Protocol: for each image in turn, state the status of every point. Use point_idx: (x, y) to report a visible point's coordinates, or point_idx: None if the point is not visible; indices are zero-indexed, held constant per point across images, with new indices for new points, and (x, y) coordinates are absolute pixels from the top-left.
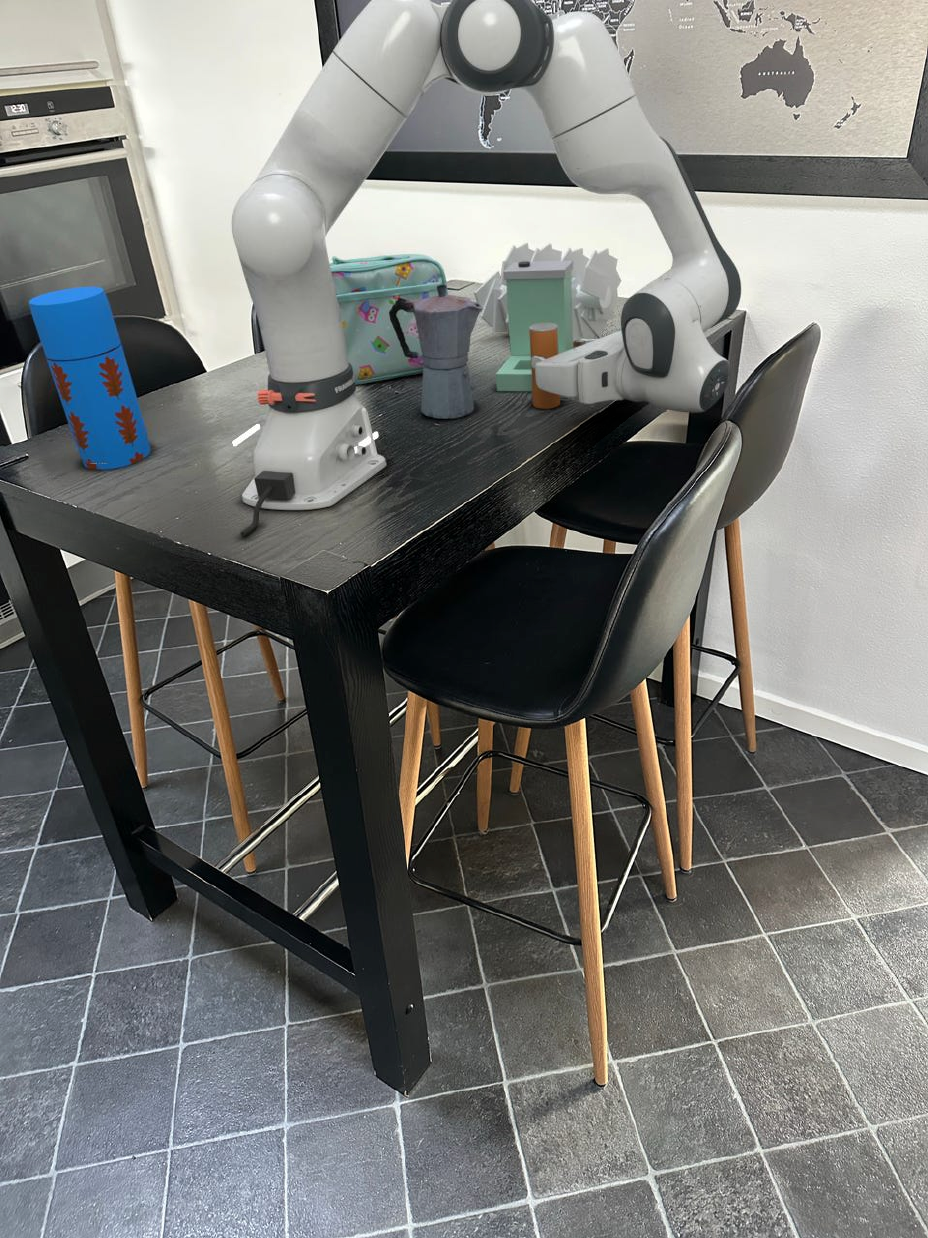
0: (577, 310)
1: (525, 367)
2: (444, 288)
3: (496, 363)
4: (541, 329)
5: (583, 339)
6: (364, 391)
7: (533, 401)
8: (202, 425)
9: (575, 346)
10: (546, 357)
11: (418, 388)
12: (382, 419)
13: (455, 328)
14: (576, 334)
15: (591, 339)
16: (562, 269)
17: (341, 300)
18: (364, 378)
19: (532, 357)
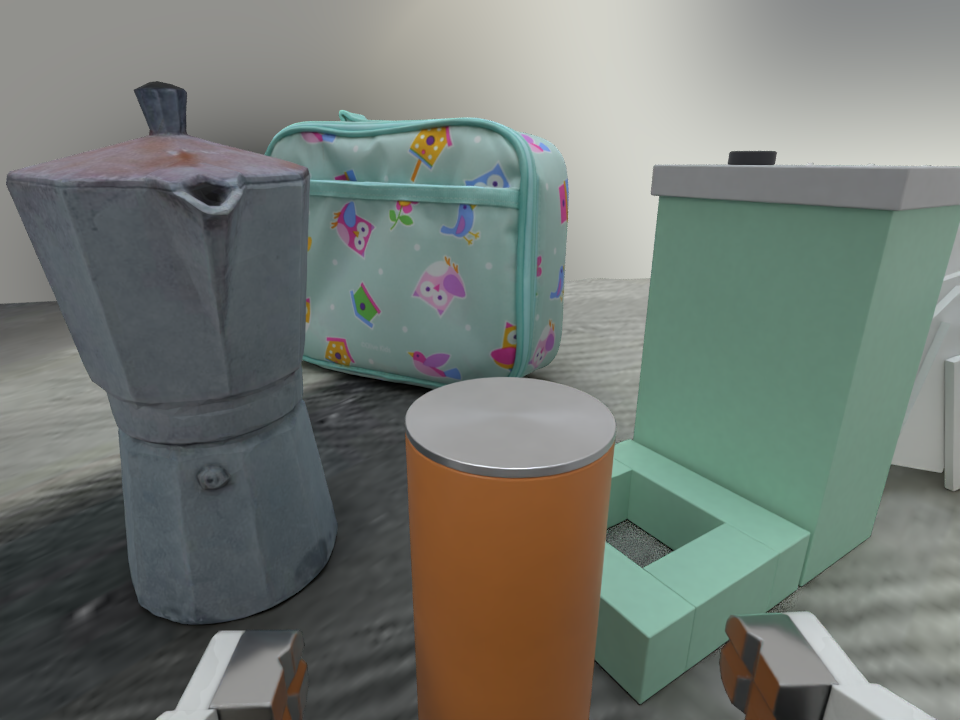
0: (954, 372)
1: (643, 500)
2: (149, 95)
3: (630, 434)
4: (440, 438)
5: (826, 652)
6: (306, 389)
7: None
8: (50, 352)
9: (736, 658)
10: (447, 639)
11: (375, 428)
12: (121, 487)
13: (85, 275)
14: (925, 444)
15: (911, 717)
16: (898, 167)
17: None
18: (338, 363)
19: (215, 639)
